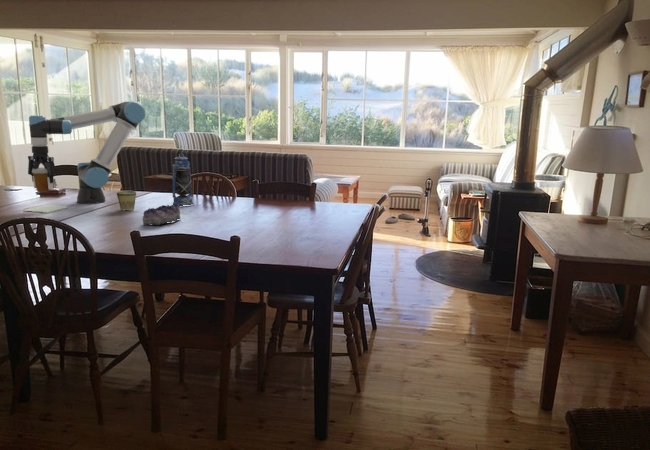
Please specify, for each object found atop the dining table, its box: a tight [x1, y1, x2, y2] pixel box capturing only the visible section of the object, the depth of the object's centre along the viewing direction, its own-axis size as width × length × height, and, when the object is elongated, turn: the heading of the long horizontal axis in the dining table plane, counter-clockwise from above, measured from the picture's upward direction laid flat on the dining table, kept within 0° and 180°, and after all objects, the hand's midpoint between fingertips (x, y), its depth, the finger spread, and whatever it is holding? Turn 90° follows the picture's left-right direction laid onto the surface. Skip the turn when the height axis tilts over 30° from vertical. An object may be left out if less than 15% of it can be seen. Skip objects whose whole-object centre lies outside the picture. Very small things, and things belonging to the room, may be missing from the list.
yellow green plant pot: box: [116, 190, 137, 211], centre depth 273 cm, size 13×10×10 cm
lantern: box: [171, 153, 194, 206], centre depth 288 cm, size 15×12×30 cm
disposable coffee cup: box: [32, 167, 52, 193], centre depth 264 cm, size 10×10×12 cm
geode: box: [142, 204, 181, 226], centre depth 245 cm, size 20×12×10 cm, turn 152°
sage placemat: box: [22, 204, 69, 214], centre depth 267 cm, size 15×15×1 cm
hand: (43, 188), depth 265 cm, fingers closed on disposable coffee cup, 8 cm apart
